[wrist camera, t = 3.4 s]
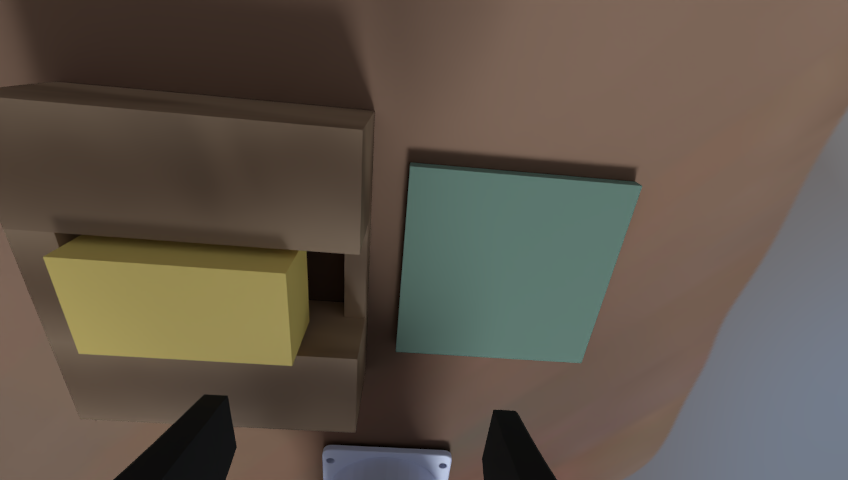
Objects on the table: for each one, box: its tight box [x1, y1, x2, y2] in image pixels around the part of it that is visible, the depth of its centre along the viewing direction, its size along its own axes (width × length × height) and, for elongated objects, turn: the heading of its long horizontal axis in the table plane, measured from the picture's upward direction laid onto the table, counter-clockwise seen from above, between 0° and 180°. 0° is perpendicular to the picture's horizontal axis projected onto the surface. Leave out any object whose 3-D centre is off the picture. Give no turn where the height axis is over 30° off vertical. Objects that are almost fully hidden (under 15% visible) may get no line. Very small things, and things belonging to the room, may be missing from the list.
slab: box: [43, 235, 309, 366], centre depth 16 cm, size 4×8×3 cm, turn 85°
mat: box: [396, 162, 642, 363], centre depth 19 cm, size 10×10×1 cm
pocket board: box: [0, 82, 375, 433], centre depth 17 cm, size 14×12×4 cm
